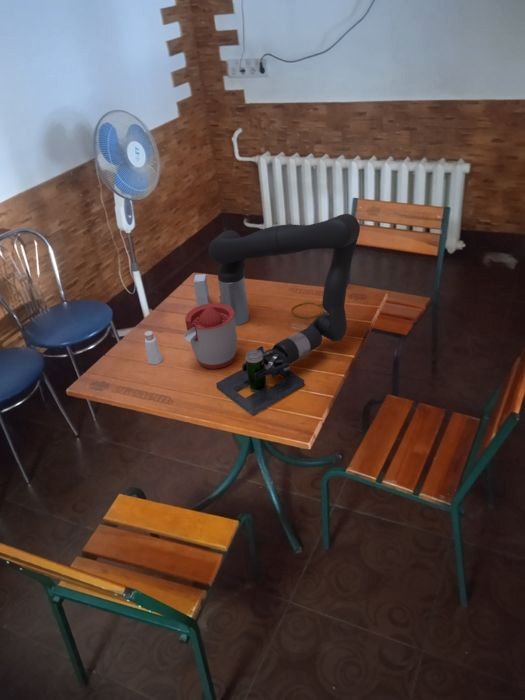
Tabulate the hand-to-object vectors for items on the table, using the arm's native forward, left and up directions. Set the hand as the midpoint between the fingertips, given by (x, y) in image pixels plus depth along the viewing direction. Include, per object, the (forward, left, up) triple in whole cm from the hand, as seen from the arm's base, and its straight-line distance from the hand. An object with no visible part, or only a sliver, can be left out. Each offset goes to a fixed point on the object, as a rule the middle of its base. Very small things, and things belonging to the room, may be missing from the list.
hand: (249, 372), depth 165 cm
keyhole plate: (0, +3, -7) cm, 8 cm away
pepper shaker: (-38, -10, -7) cm, 40 cm away
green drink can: (0, +3, -7) cm, 7 cm away
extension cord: (-18, +47, -8) cm, 51 cm away
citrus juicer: (-22, +3, -7) cm, 23 cm away
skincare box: (-54, +24, -7) cm, 60 cm away
